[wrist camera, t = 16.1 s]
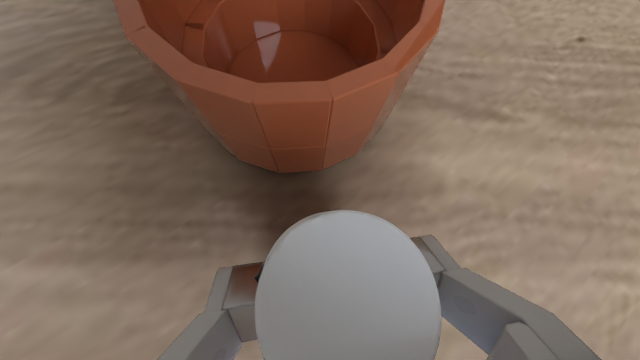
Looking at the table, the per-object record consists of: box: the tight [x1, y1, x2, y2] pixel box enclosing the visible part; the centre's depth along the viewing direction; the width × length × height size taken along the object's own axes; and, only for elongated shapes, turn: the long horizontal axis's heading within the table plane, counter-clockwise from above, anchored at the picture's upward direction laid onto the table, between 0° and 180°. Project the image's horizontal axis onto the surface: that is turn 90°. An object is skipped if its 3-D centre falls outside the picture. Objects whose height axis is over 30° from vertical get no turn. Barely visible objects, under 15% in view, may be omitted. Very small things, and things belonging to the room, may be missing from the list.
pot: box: [113, 0, 445, 173], centre depth 13 cm, size 13×13×8 cm
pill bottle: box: [255, 210, 441, 360], centre depth 9 cm, size 5×5×8 cm
